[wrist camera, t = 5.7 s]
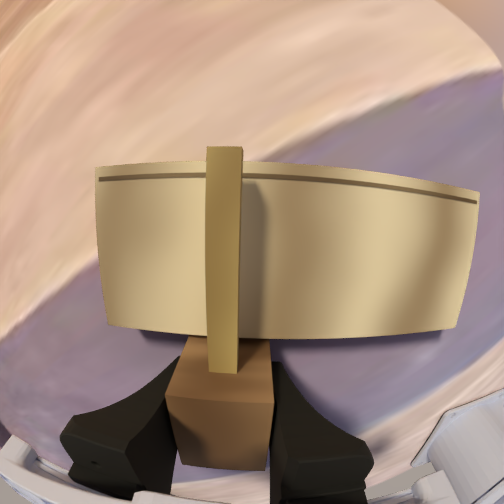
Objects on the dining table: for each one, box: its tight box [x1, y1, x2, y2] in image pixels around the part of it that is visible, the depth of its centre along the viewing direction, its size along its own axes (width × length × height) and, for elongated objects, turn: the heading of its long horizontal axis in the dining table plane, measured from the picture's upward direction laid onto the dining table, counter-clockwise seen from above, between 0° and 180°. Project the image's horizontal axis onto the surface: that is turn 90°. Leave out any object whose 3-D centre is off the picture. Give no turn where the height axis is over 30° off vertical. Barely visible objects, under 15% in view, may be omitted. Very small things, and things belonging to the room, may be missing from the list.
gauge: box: [165, 147, 274, 471], centre depth 10 cm, size 4×12×6 cm, turn 178°
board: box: [95, 161, 480, 339], centre depth 11 cm, size 17×7×2 cm, turn 88°
